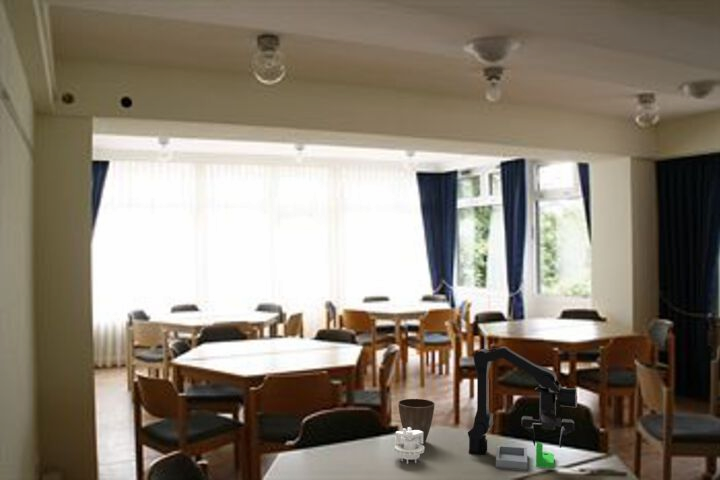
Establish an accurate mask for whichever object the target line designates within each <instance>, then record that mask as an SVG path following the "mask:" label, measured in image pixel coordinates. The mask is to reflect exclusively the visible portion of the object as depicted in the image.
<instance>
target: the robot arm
mask: <svg viewBox="0 0 720 480" xmlns="http://www.w3.org/2000/svg"><path fill="white" fill-rule="evenodd" d="M500 359H504V360H505V361H506V362H509V363H510V364H512V365H514V366H516V367H517V368H518V369H521V370H522V371H523V372H525V373H527V374H528V375H530V376H531V377H532V378H533V379H534V380H535V382H537V383H538V384H539V385H538V386H537V387H536V388H535V389H534V392H535V393H539V419H533V418H534V417H533V416H528V415H523V416H521V427H522V428H525V430H527V431H528V432H529V434H530V437H531V439H532V443H533V446H536V437H535V430H534V426H541V429H542V430H551V431H554V430H556V427H559V428H561V429H560V437H559V448H560V449H561V448H562V446H563V443H564V441H565V438H566V436H567V434H568V433H569V434H570V433H571V432H574V431H575V430H576V429H575V421H574V420H573V419H572V418H571V419H568V418H562V416H561V415H557V413H556V412H557V411H556V410H557V406H556V405H557V404H558V405H559V406H560V407H568V408H574V409H576V408H577V406H578V396H577V395H578V394H577V388H575V387H574V388H567V387H563V386H562V384H561V382H559V380H558V378H557V374H556V372H555V371H554V370H553V369H550V368H548V367H544V366H542V365H539V364H535V363H533V362H532V361H530V360H528V358H525V357H524V356H521V355H520V354H518V353H517V352H515V351H513V350H511V349H510V348H509V347H508V346H505V345H504V346H501V347H498V348H491V349H487V348H482V349H480V350H477V351H476V352H475V353H474V355H473V363H474V368H475V371H476V375H477V381H476V382H477V383H476V386H477V388H476V390H477V391H476V392H477V393H476V394H477V395H476V396H477V398H476V399H477V400H476V402H477V403H476V405H477V406H476V412H475V415H474V421H473V426H472V427H471V429H469V430H468V432H467V436H468V443H469V444H468V453H469V454H471V455H472V454H475V455H486V454H487V452H488V439H487V435H486V434H487V433H488V432H489V430H490V429H491V428H492V426H493V425H494V413H492V412H491V413H490V410H489V409H490V408H489V372H490V368H491V365H492V362H494V361H496V360H500Z"/></svg>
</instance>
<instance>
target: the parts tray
mask: <svg viewBox="0 0 720 480" xmlns="http://www.w3.org/2000/svg"><path fill="white" fill-rule="evenodd" d="M495 469H502V470H503V469H505V470H506V469H507V470H513V471H514V470H515V471H516V470H517V471H525V472H526V471H527V472H528V450H527V447H525V446H524V447H522V446H512V445H511V446H510V445H497V446H496V453H495Z"/></svg>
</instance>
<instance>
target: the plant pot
mask: <svg viewBox="0 0 720 480" xmlns="http://www.w3.org/2000/svg"><path fill="white" fill-rule="evenodd" d="M397 404H398V413H399V418H400V419H399V420H400V424H401V427H402V429H403V428H405V429H407V428H408V427H410V428H412V430H420V431H422V432H423V444H421V443H418V444H421V445H424V444H426V441H427V439H428V435H429V433H430V430H431V426H432V422H433V417H434V411H435V405H436V403H435V402H434V401H433V400H429V399H423V398H405V399H401V400H399V401H398V402H397ZM412 430H411V431H412Z"/></svg>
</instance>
